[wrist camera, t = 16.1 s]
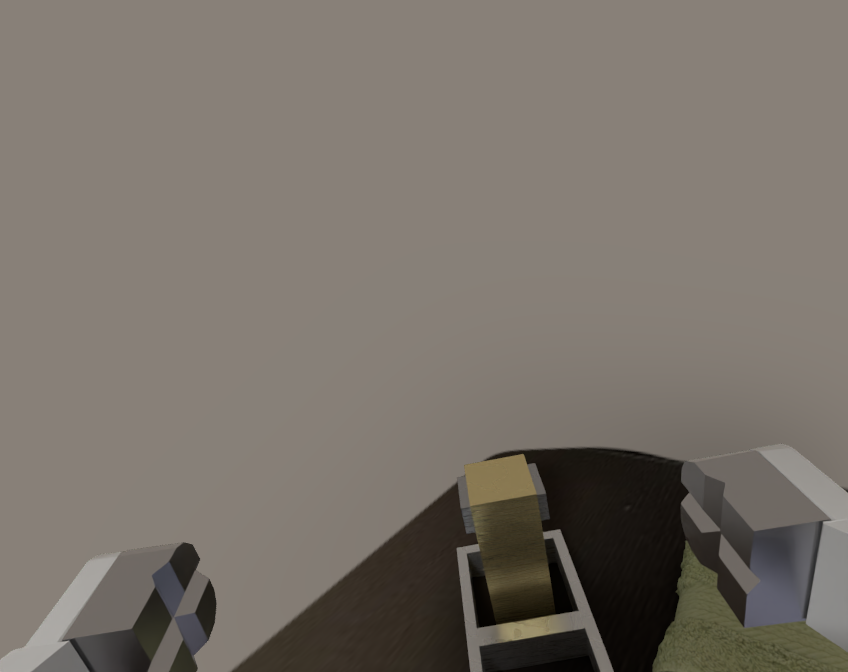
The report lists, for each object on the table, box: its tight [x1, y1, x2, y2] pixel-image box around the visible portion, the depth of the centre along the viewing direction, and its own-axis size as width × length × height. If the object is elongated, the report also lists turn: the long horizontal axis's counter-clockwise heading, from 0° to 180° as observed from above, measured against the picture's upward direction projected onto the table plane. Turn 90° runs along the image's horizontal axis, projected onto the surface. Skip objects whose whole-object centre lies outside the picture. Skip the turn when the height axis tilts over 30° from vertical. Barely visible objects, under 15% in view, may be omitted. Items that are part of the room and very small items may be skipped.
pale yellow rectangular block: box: [457, 454, 556, 625], centre depth 34 cm, size 5×4×11 cm
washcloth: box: [652, 541, 848, 672], centre depth 27 cm, size 13×18×3 cm
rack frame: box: [457, 529, 614, 672], centre depth 32 cm, size 8×15×2 cm, turn 1°
